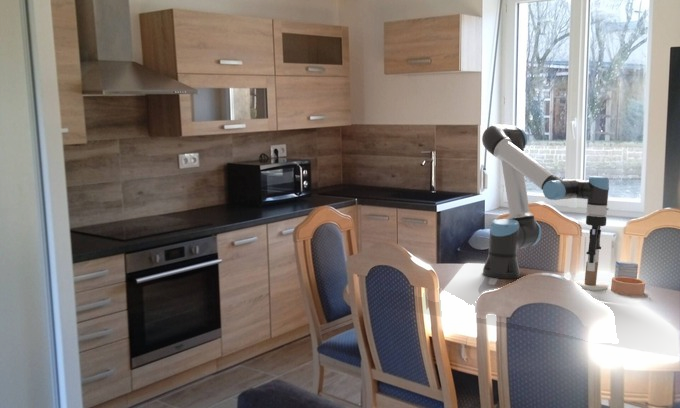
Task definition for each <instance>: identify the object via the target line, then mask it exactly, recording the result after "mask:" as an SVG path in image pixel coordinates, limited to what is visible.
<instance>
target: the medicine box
mask: <svg viewBox="0 0 680 408" xmlns="http://www.w3.org/2000/svg"><path fill="white" fill-rule="evenodd" d="M638 271H639V264H638V263H637V262H636V261H623V260H621V261H620V260H619V261H617V260H616V261H615V268H614V277H629V278H635V279H638Z"/></svg>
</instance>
